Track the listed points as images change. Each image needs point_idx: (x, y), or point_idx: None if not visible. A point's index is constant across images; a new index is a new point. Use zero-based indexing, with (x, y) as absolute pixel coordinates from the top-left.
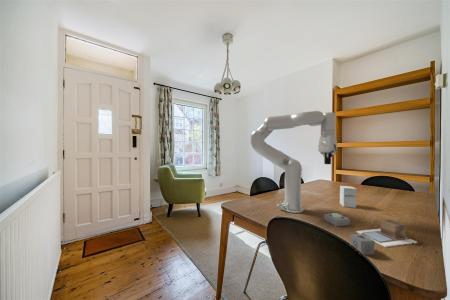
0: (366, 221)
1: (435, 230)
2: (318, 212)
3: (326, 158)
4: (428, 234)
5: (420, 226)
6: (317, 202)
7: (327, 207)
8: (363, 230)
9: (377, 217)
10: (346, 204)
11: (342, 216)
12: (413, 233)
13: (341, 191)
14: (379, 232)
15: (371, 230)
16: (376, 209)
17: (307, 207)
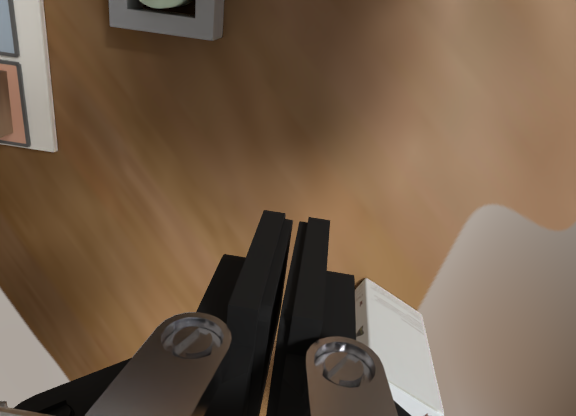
0: (151, 169)
1: (32, 330)
2: (349, 9)
3: (235, 290)
4: (3, 265)
5: (69, 326)
6: (516, 197)
7: (400, 169)
8: (39, 10)
9: (182, 276)
10: (355, 297)
11: (154, 19)
12: (14, 223)
13: (407, 362)
14: (7, 65)
15: (35, 55)
16: (268, 384)
17: (470, 14)
